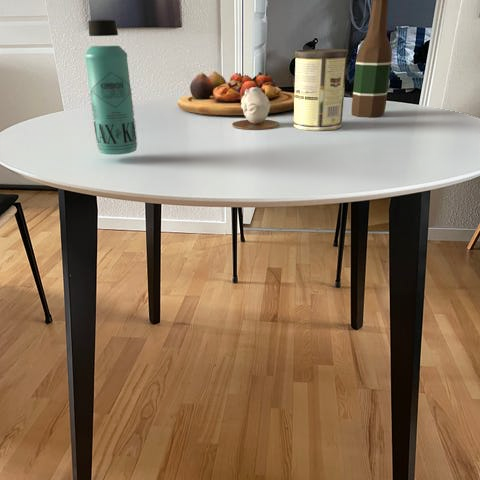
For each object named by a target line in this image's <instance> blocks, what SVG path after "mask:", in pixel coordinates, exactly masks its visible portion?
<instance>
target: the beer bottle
mask: <svg viewBox="0 0 480 480" xmlns="http://www.w3.org/2000/svg"><path fill="white" fill-rule="evenodd" d="M388 10H389V0H372V4H371V11H370V15H369V16H370V17H369V21H368V22H369V23H368V29H367V32H366V36H365V37H364V39H363V40H362V42H361V43H360V46H359V48H358V51H357V54H356V60H355V67H354V68H355V70H354V80H353V89H352V98H351V99H352V100H351V115H352V116H355V117H357V118H358V117H359V118H379V117H382V116H383V115H384V114H385V113H386V112H385V111H386V106H387V101H388V100H387V99H388V93H389V92H388V91H389V84H390V77H391V76H390V75H391V67H392V59H393V58H392V57H393V50H392V45H391V43H390V40H389V37H388V32H387V29H388V27H387V26H388V25H387V24H388V12H389V11H388Z"/></svg>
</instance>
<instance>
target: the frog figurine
mask: <svg viewBox="0 0 480 480" xmlns="http://www.w3.org/2000/svg"><path fill="white" fill-rule="evenodd" d="M241 104H242V105H241V107H242V109H243V112H244V115H243V116H244V117H245V118H246V120H248V121H249V122H251V123H254V124H259V123H261V122H263V121H264V120H267V118H268V115H269V113H268V112H269V108H270V102H269V100H268V97H267V96H266V95H265V94H264V93H263V92H262V90H261V89H260V88H257V87H253V88H252V87H251V88H250V89H246V91H245V95H244V96H243V97H242V100H241Z"/></svg>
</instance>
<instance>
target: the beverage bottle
mask: <svg viewBox="0 0 480 480" xmlns="http://www.w3.org/2000/svg"><path fill="white" fill-rule="evenodd" d="M88 36H89V37H114V36H119V33H118V28H117V23H116V20H114V19H110V18H109V19H108V18H96V19H91V20H88ZM84 58H85V64H86V70H87V76H88V77H87V78H88V85H89V95H90V102H91V103H90V106H91V113H92V117H93V118H92V120H93V126H94V134H95V139H96V140H95V141H96V143H97V149H98V151H99V154H103V155H110V156H111V155H113V156H115V155H127V154H130V153H134V152H136V151H137V150H138V149H137V148H138V145H139V144H138V140H137V137H138V135H137V134H138V133H137V131H136V127H137V126H136V125H137V124H136V120H135V109H134V101H133V94H132V91H133V90H132V87H131V79H130V72H129V63H128V62H129V61H128V53H127V52H126V51H125V50H124V48H122V47H121V46H120V45H91V46H90V47H89V48H88V49H87V50H86V52H85V53H84Z"/></svg>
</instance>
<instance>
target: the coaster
mask: <svg viewBox="0 0 480 480" xmlns="http://www.w3.org/2000/svg"><path fill="white" fill-rule="evenodd" d="M279 126H280V122H278V121H277V120H273V119H265V120H264V121H263V122H261V123H259V124H254V123H251V122H249V121H248V120H247V119H241V120H236V121H233V122H232V127H233V128H235V129H237V130H244V131H245V130H246V131H261V130H263V131H264V130H270V129H275V128H278V127H279Z"/></svg>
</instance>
